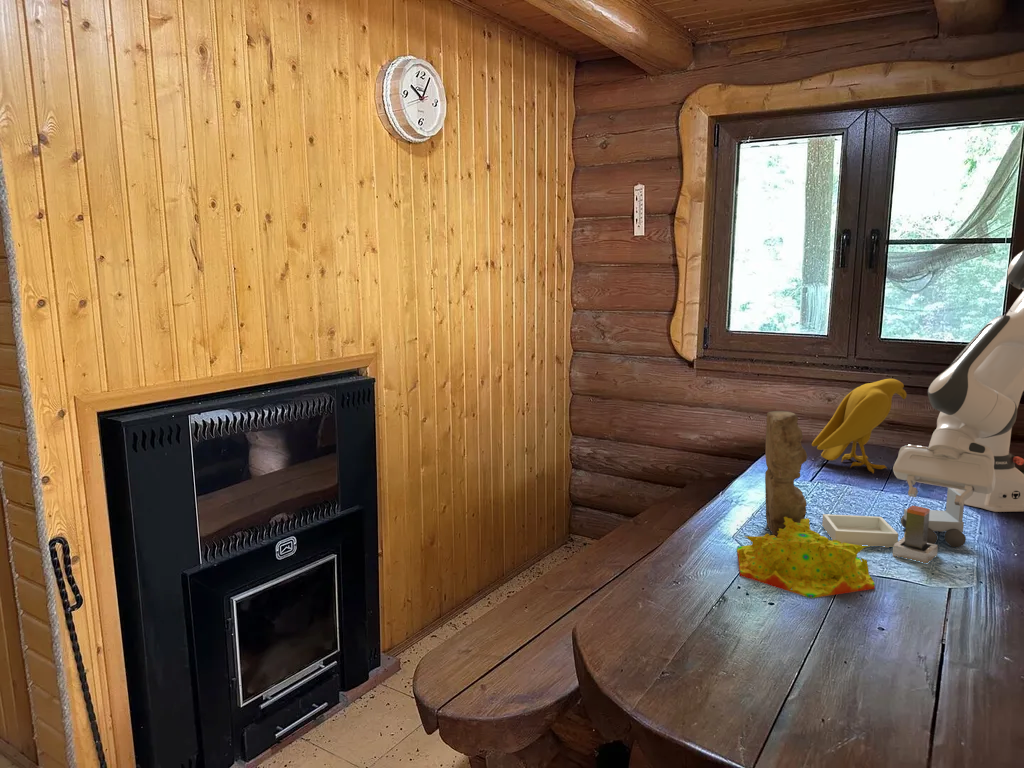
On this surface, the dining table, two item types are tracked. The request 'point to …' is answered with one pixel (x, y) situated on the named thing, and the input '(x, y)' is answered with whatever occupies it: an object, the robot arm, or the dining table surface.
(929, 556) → the bracket
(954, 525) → the trolley
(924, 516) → the pin
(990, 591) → the dining table surface
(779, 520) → the sculpture
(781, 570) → the decorative piece
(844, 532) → the tray
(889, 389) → the sculpture
